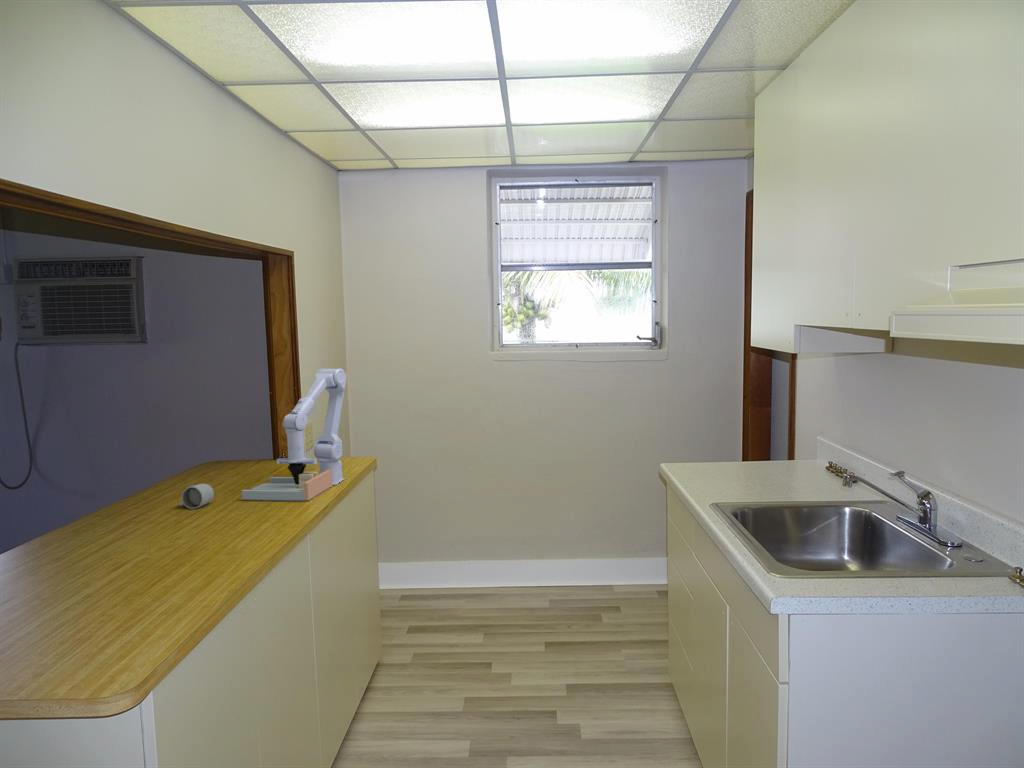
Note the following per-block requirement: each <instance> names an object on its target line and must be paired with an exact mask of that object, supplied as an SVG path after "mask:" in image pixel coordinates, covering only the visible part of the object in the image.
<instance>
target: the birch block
mask: <svg viewBox="0 0 1024 768" xmlns="http://www.w3.org/2000/svg"><path fill="white" fill-rule="evenodd" d="M317 475H319V471H303V473H301V474H299V489H303V483H304V482H306V481H308V480H310V479H312V478H313V477H315V476H317Z"/></svg>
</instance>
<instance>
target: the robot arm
mask: <svg viewBox="0 0 1024 768" xmlns="http://www.w3.org/2000/svg"><path fill="white" fill-rule="evenodd" d="M347 378H348V376H347V374H346V372H345V371H344V369H342V368H323V367H321V368H319V369H318V370H317V372H316V374H314V382H313V383H312V385H311V387H310V389H309V391H308V393H307V394H306V396H305V397H300V398H299V400H298V401H297V404H296V405H295V406H294V408H293V409H292V410H291V413H289V414H286V415H285V416H284V418H283V422H282V423H281V424H282V426H283V428H284V431H285V434H286V438H287V439H286V441H287V457H283V458H280V457H279V458H276V465H277V466H278V465H288V466H287V470H288V471H289V472H290V474H291V477H293V478H294V481H295V485H299V474H301V473H303V472H305V470H306V469H305V468H306V467H307V465H312V466H314V465H317V464H318V466H319V467H318V470H319V471H318V473H319V474H321V473H323V472H325V471H326V470H332V482H333V486H336V485H338V484H340V483H341V482H343V481H344V479H346V478H343V464H342V461H341V460H340V459H341V458H342V455H343V452H344V451H343V441H342V439H341V438H340V437H339V436H338V434H339V429H340V422H341V416H342V411H343V404H344V399H345V398H344V397H345V390H346V383H347ZM324 390H325V391H326V392H328V394H329V395H328V403H327V409H326V414H325V420H324V427H323V432H322V434H321V435H320V436H319V437H317V439H316V443H315V445H314V448H313V455H314V457H315V458H314V457H313V458H312V457H305V456H306V454H305V436H304V435H305V433H304V430H305V428H306V427H307V424H308V419H309V416H310V414H311V413H312V411H313V410H314V408H315V401H316V400H317V399H318V398H319V396H320V395H321V394H322V393H323V391H324ZM342 480H343V481H342ZM339 482H340V483H339Z"/></svg>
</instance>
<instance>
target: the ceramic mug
mask: <svg viewBox="0 0 1024 768" xmlns="http://www.w3.org/2000/svg"><path fill="white" fill-rule="evenodd" d="M214 496H215V492H214V489H213V487H212V486H211V485H210V484H209V483H208V484H207V483H198V484H195V485H191V486H187V487H186V488H185V489H184V490H183V491H182V493H181V500H180V501H179V502H178V504H179V506H180V507H183V506H185V507H186V508H188V509H190V510H197V509H199V508H201V507H203V506H205V505H207V504H209V503H210V502H211V501H212V500H213V499H214V498H215V497H214Z"/></svg>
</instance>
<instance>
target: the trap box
mask: <svg viewBox="0 0 1024 768" xmlns="http://www.w3.org/2000/svg"><path fill="white" fill-rule="evenodd" d="M331 486H334V485H333V482H332V470H326V471H325V472H323V473H321V474H320V473H318V475H317V476H315V477H313V478H312V479H310V480H308V481H306V482H304V483H303V489H299V485H295V481H294V478H293V476H271V477H268V483H267V482H265V483H264V482H263V483H261V484H259V485H257V486H254V487H252V488H251V489H242V490H241V501H242V500H259V501H258V502H301V501H308V502H310V501H312V500H313V499H315V498H316V496H317V495H318V496H320V495H321V493H322V492H323V493H325V492H326V491H328V490H329V489H328V488H330V487H331ZM331 488H332V487H331ZM331 488H330V489H331ZM327 489H328V490H327ZM325 490H326V491H325ZM324 491H325V492H324ZM323 493H322V494H323ZM319 494H320V495H319ZM318 496H317V497H318ZM314 497H315V498H314ZM312 498H313V499H312ZM311 499H312V500H311ZM260 500H262V501H260ZM309 500H310V501H309Z"/></svg>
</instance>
